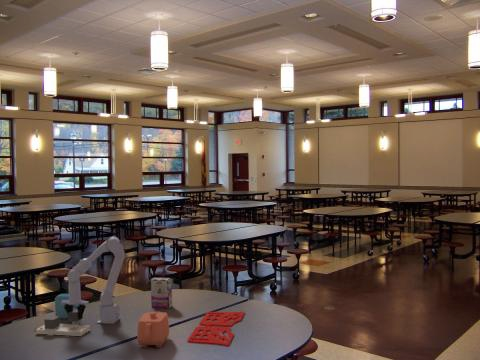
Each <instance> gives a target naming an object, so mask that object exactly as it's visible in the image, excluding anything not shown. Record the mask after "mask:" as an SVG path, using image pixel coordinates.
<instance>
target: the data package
mask: <svg viewBox="0 0 480 360" xmlns="http://www.w3.org/2000/svg"><path fill="white" fill-rule="evenodd" d="M63 300H69V293H60V294H58V295H57V296H55V298H54V309H55V312H54V313H55V316H60V319H69V318H68V314H67V312H66V310H65V309H64V306H65V305H62V304H61V301H63ZM78 306H79V305H73V309H77V307H78Z"/></svg>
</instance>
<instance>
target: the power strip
mask: <svg viewBox="0 0 480 360" xmlns="http://www.w3.org/2000/svg"><path fill="white" fill-rule="evenodd" d="M35 329H36V330H35ZM34 330H35V334H36V333H48V334H59V335H73V336H81V337H83V336H84V335H85V334H84V333H86V332H87V333H88V331H89V332H90V331H91V325H90V324H89V325H86V324H78V325H72V323H71V324H69V323H61V318H60V316H56V315H55V316H54V315H49V316H48V317H46V318H45V319H44V324H43V325H42V326H40V327H37V328H36V327H35V328H34ZM87 333H86V334H87ZM83 334H84V335H83ZM82 335H83V336H82Z"/></svg>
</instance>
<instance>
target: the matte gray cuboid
mask: <svg viewBox="0 0 480 360" xmlns="http://www.w3.org/2000/svg"><path fill="white" fill-rule="evenodd" d="M67 319H68V322H71V324H72V325H81V324H80V321H81V320H79V316H78V310H77V309H73V310H72V311H70V312H68V318H67ZM82 319H84V317H82Z"/></svg>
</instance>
